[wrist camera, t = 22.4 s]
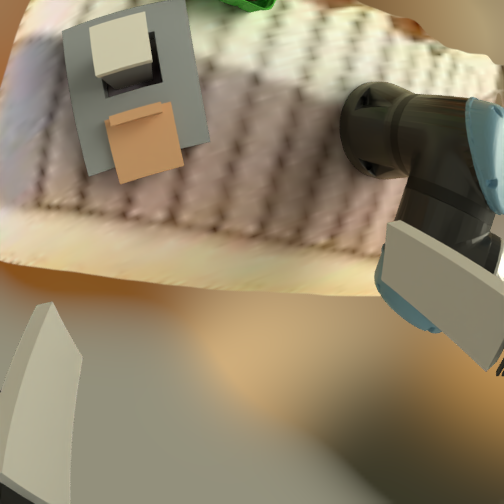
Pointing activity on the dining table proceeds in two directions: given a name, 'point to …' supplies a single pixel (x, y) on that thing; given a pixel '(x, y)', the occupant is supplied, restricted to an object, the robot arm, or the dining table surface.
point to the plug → (122, 51)
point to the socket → (170, 90)
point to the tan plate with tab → (144, 141)
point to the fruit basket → (251, 4)
